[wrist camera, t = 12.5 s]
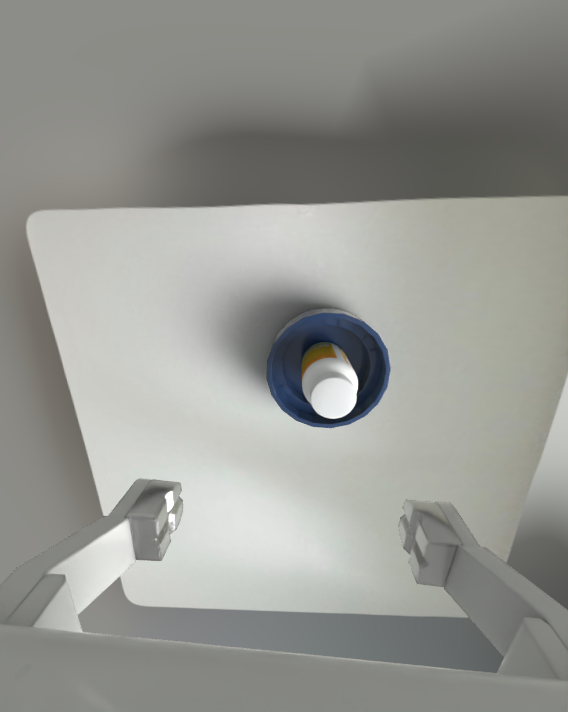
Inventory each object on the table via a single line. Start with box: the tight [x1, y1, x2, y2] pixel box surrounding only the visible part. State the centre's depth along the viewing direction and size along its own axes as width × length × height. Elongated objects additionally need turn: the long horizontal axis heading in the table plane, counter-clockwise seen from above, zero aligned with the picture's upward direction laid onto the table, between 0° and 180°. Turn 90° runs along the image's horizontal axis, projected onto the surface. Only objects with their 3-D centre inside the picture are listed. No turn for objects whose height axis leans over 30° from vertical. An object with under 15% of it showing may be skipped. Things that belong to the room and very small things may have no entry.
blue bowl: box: [267, 308, 391, 428], centre depth 31 cm, size 13×13×4 cm
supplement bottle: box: [302, 342, 358, 419], centre depth 28 cm, size 5×5×10 cm
